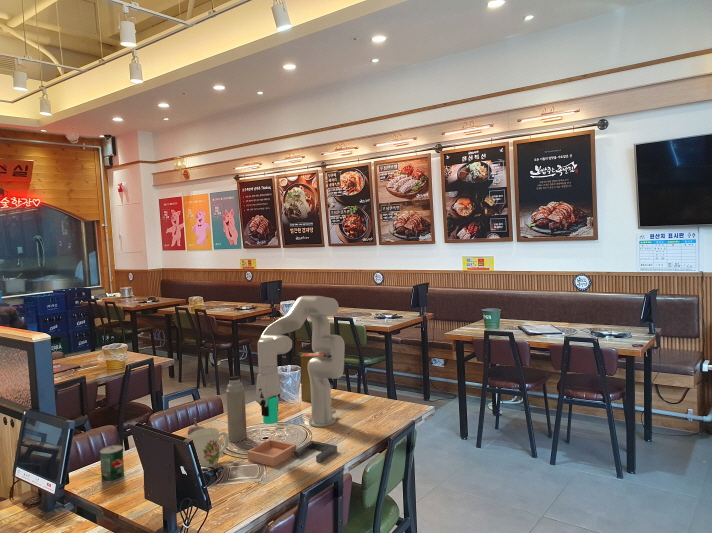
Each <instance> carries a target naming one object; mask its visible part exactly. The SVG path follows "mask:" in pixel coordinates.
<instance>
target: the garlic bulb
mask: <svg viewBox="0 0 712 533" xmlns="http://www.w3.org/2000/svg"><path fill="white" fill-rule="evenodd" d="M193 423H194V424H193V425H191V426H189V428H188V430H187V436H188V435H190V434H191V433H192V432H194V431H196V430H199V429H203V428H205V427H204V426H203V425H200V424H198V422H197V418H196V417H194V418H193Z"/></svg>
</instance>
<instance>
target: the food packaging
mask: <svg viewBox="0 0 712 533" xmlns="http://www.w3.org/2000/svg"><path fill="white" fill-rule="evenodd" d="M314 357H327V358H328V355H326V354H317V353H314V352H304V353H302V354H301V355H300V356H299V362H300V363H299V364H300V386H301V387H300V388H301V402H311V385H310V377H309V373H308V362H309V360H310V359H312V358H314Z"/></svg>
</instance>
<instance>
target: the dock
mask: <svg viewBox="0 0 712 533" xmlns="http://www.w3.org/2000/svg"><path fill="white" fill-rule="evenodd" d="M312 450H318V451H321V452H320V453H318V454H317V455H315V462H316V463H318V464H322V463H323V462H324V461H326V460H327V459H329V458H330V457H332V456H333V455H335V454H336V453H338V445H337V444H336V445H335V444H330V443H325V442H320V441H315V440H309V441H308V442H307V443H304V444H303V445H302V446H300V447H297V448H296V450H295V451H294V455H293V457H294V458H297V459H298V458H301V457H302V456H303V455H305V454H307V453H309V451H312Z"/></svg>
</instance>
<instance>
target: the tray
mask: <svg viewBox="0 0 712 533" xmlns="http://www.w3.org/2000/svg"><path fill="white" fill-rule="evenodd" d="M296 449H297V444H296V443H295V444H294V443H290V442H285V441H282V440H276V439H272V438H269V439H267V440H266V441H264V442H262V443H260V444H258V445H256V446H254V447H253V448H250V449H249V450H247V451H246V453H247V454H246V455H247V456H246V457H247V460H248V461H251V462H255V463H259V464H263V465H267V466H271V467H275V466H278V465H279V464H281V463H282V462H284V461H286V460H287V459H289V458H290V457H292V456H294V451H295V450H296Z"/></svg>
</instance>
